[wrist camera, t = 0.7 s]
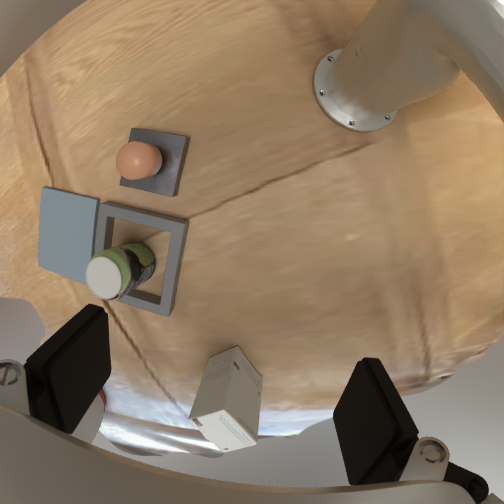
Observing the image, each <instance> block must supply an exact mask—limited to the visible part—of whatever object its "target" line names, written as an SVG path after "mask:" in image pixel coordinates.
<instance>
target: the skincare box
mask: <svg viewBox="0 0 504 504" xmlns="http://www.w3.org/2000/svg"><path fill="white" fill-rule="evenodd" d="M261 391H262V377H261V376H260V375H259V374H258V373H257V371H256V370H255V369H254V368H253V366H252V365H251V364H250V363H249V361H248V360H247V358H246V357H245V356H244V354H243V353H242V351H241V349H240V348H239V347H238V346H236V347H234V348H231V349H229V350H227V351H224V352H222V353H220V354H217V355H215V356H213V357H211V358H209V361H208V364H207V366H206V369H205V372H204V375H203V378H202V381H201V384H200V387H199V389H198V392H197V395H196V398H195V401H194V404H193V407H192V410H191V413H190V415H189V418H188V420H189V421H190V422H191V423H192V424H193V425H194V426H196V427H197V428H198V429H199V430H200V431H201V432H202V434H203V435H204V437H205V438H206V439H207V440H209V441H211V442H212V443H214V444H215V445H216V446H217V447H218V448H219V449H220V450H221V451H222V452H228V451H232V450H236V449H240V448H244V447H248V446H252V445H256V444H257V437H258V425H259V415H260V403H261Z"/></svg>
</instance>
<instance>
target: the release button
mask: <svg viewBox="0 0 504 504" xmlns="http://www.w3.org/2000/svg"><path fill="white" fill-rule="evenodd" d="M161 164H162V155H161V153H160V151H159V149H158V148H157V147H156V146H154V145H152V144H147V143H142V142H136V141H133V142H129V143H127V144H125V145H124V146H123V147H122V148H121V149H120V150H119V152H118V155H117V158H116V166H117V169H118V171H119V173H120V174H121V175H122V176H123V177H124V178H126V179H130V180H135V179H144V178H150V177H152V176H154V175H155V174H156V173H157V172H158V171H159V169H160V167H161Z"/></svg>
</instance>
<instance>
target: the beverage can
mask: <svg viewBox="0 0 504 504" xmlns="http://www.w3.org/2000/svg"><path fill="white" fill-rule="evenodd" d="M154 269H155V260H154V257H153V254H152V252H151V251H150V250H149V248H148V247H146V246H145V245H143V244H141V243H137V242H133V243H129V244H125V245H121V246H117V247H113V248H110V249H106V250H102V251H100V252H97V253H96V254H95V255H94V256H93V257H92V258H91V259H90V261H89V263H88V265H87V268H86V272H85V278H86V283H87V285H88V287H89V289H90V291H91V292H92V293H93V294H94V295H95V296H97V297H99V298H101V299H104V300H109V301H114V300H118V299H120V298H122V297H123V296H125V295H126V294H128V293H129V292H131V291H132V290H134V289H135V288H137V287H138V286H140V285H141V284H143V283H144V282H146V281H147V280H148V279H149V278H150V277H151V276H152V274H153V272H154Z"/></svg>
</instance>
